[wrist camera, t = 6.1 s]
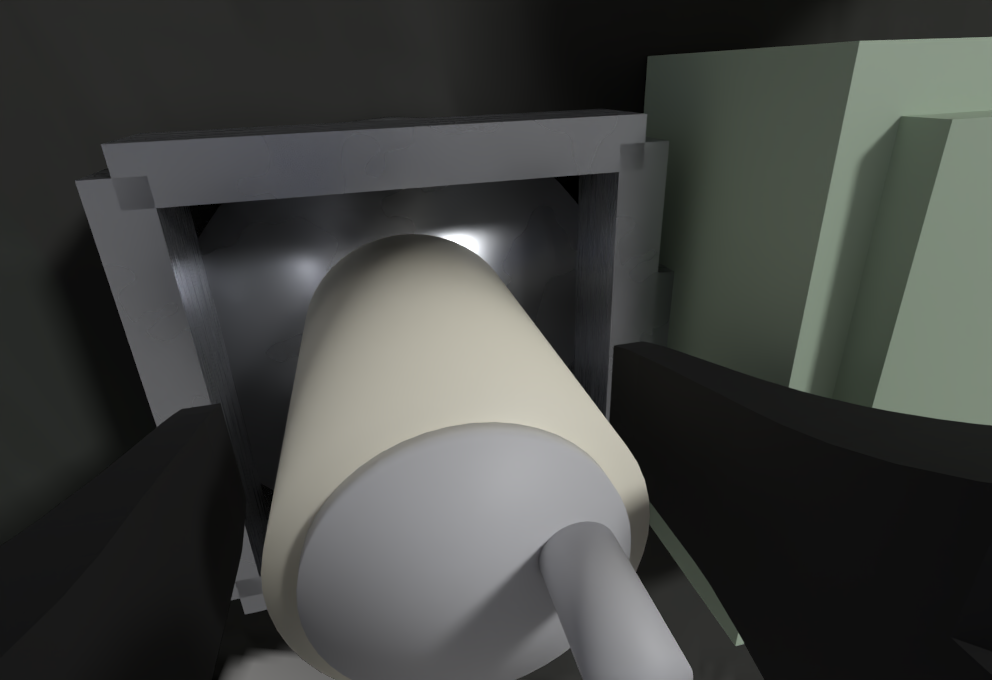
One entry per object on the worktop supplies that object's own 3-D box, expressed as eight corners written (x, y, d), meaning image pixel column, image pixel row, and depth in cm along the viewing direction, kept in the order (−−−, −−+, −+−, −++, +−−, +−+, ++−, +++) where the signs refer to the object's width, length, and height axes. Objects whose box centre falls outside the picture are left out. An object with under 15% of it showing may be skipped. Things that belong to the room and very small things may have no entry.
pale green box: (616, 510, 19) (750, 715, 13) (647, 56, 13) (911, 36, 7) (873, 456, 21) (1092, 609, 15) (993, 44, 15) (1422, 22, 9)
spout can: (330, 443, 14) (304, 944, 6) (279, 253, 12) (131, 621, 4) (521, 404, 15) (730, 797, 7) (504, 218, 13) (777, 462, 5)
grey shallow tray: (240, 526, 15) (220, 619, 13) (127, 130, 11) (63, 146, 9) (643, 449, 18) (697, 514, 15) (674, 102, 14) (756, 107, 11)
